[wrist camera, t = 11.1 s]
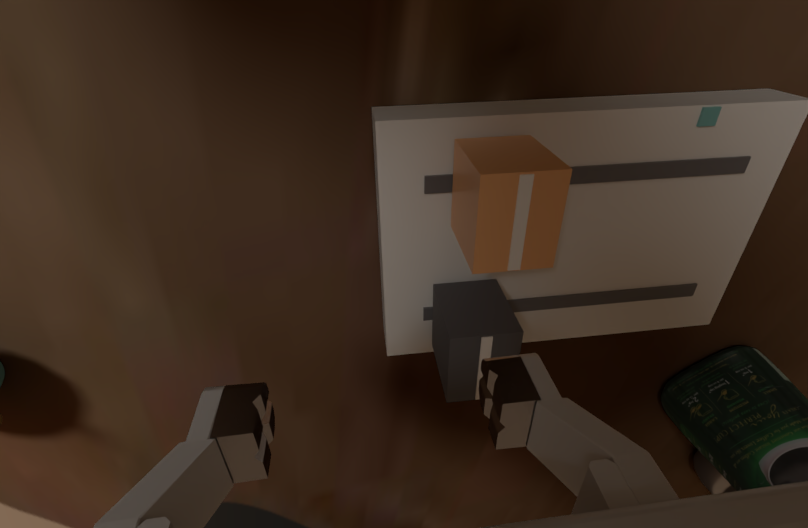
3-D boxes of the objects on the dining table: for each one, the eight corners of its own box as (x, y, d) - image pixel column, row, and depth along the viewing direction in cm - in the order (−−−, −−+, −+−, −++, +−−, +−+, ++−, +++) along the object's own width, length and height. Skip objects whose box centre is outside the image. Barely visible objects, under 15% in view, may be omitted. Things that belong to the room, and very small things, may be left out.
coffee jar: (671, 423, 44) (849, 661, 29) (646, 383, 40) (836, 633, 25) (767, 375, 42) (1017, 606, 26) (750, 328, 38) (1031, 567, 23)
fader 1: (450, 225, 25) (473, 275, 21) (454, 138, 23) (480, 175, 18) (518, 220, 26) (553, 268, 21) (530, 134, 23) (573, 170, 19)
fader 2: (431, 344, 30) (446, 404, 26) (433, 284, 27) (450, 340, 23) (489, 338, 30) (513, 396, 26) (496, 278, 28) (524, 332, 23)
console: (383, 327, 33) (387, 357, 30) (371, 107, 24) (375, 122, 22) (682, 300, 35) (710, 325, 33) (769, 88, 27) (816, 100, 24)
